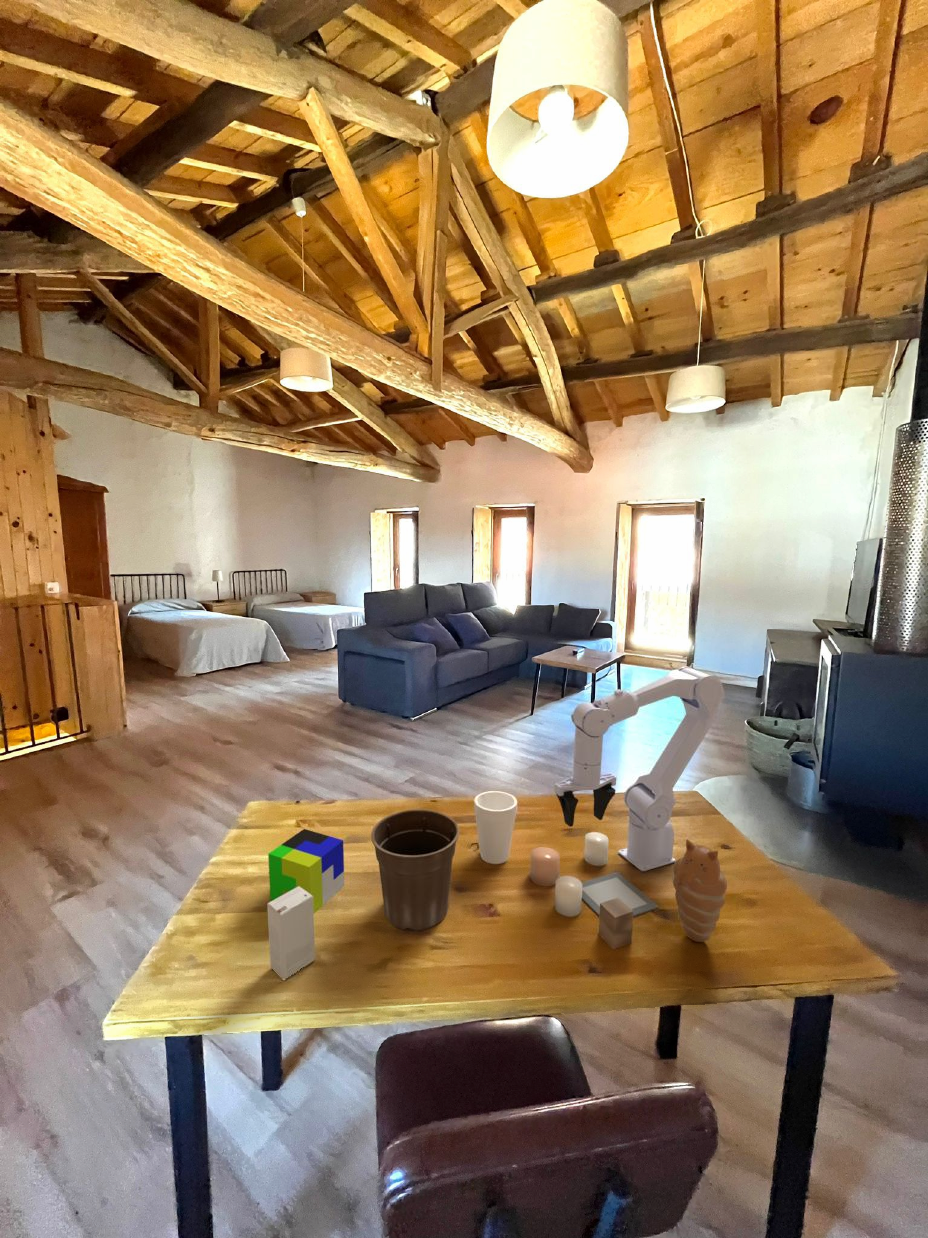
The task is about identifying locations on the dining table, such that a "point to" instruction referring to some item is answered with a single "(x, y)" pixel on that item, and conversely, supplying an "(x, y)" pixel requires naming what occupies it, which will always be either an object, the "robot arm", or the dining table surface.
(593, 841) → the cream rounded cylinder
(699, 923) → the cat ice cream
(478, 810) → the foam cup
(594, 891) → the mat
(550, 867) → the peach rounded blob
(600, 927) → the walnut block
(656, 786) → the robot arm
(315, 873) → the puzzle toy
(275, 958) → the skincare box
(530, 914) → the dining table surface
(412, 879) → the plant pot
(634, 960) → the dining table surface
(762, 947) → the dining table surface
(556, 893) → the cream rounded capsule
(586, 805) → the dining table surface
